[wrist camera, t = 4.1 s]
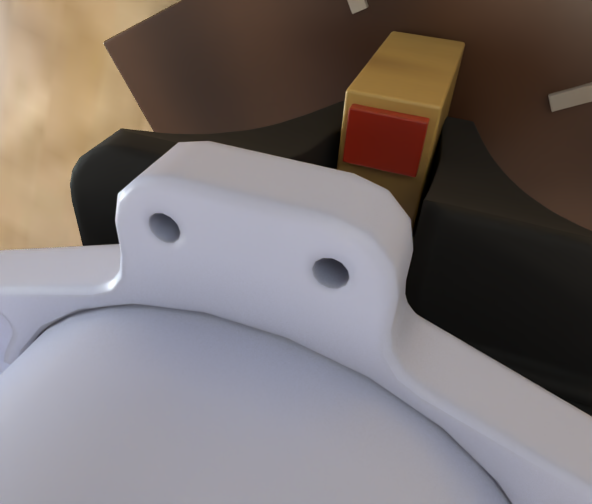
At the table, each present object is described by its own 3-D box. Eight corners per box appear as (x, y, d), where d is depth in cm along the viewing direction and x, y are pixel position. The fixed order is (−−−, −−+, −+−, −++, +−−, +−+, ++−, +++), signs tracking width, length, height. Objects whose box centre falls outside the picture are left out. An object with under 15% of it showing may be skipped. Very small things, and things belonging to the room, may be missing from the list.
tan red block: (419, 232, 14) (388, 335, 11) (361, 218, 15) (316, 314, 12) (465, 41, 11) (440, 113, 8) (391, 29, 12) (341, 94, 9)
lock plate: (286, 277, 21) (259, 323, 19) (151, 20, 16) (98, 43, 14) (749, 204, 14) (786, 266, 12) (728, -284, 9) (780, -319, 7)
